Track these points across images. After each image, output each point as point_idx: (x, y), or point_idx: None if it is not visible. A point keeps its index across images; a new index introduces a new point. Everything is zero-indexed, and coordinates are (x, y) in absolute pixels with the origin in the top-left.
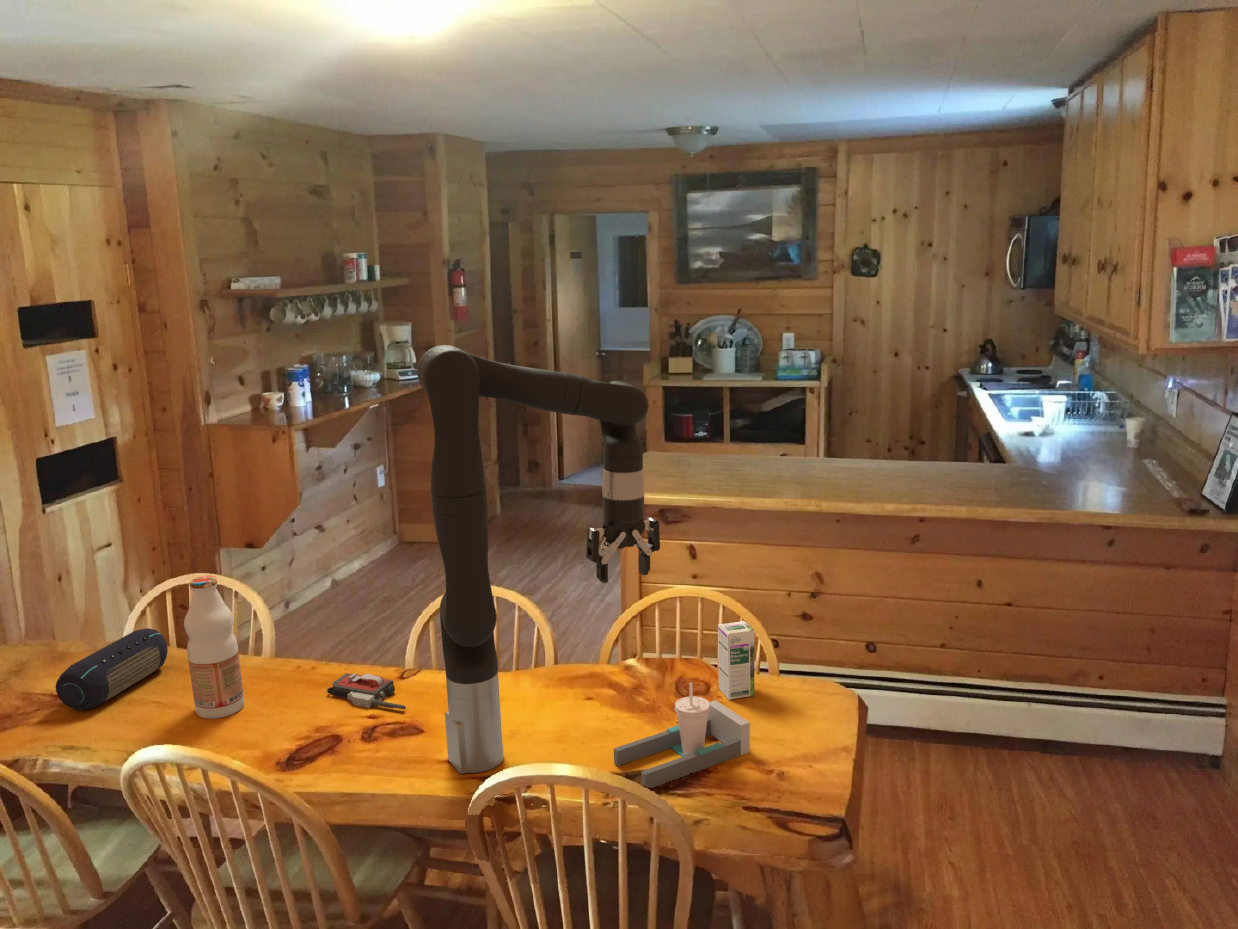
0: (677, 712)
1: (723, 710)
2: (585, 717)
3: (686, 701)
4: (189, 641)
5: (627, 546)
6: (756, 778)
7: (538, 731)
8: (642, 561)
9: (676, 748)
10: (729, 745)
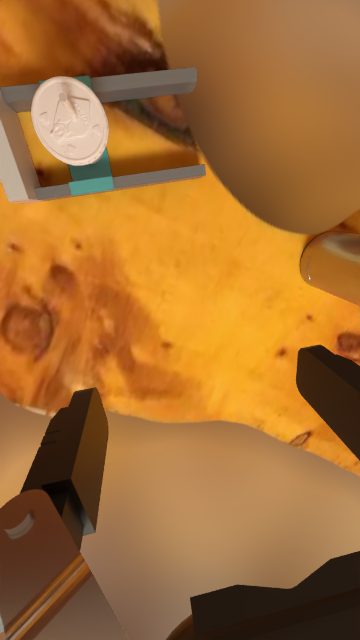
0: (107, 123)
1: (4, 154)
2: (187, 305)
3: (78, 143)
4: None
5: (276, 592)
6: (6, 4)
7: (246, 294)
8: (89, 461)
9: (107, 172)
10: (26, 85)
